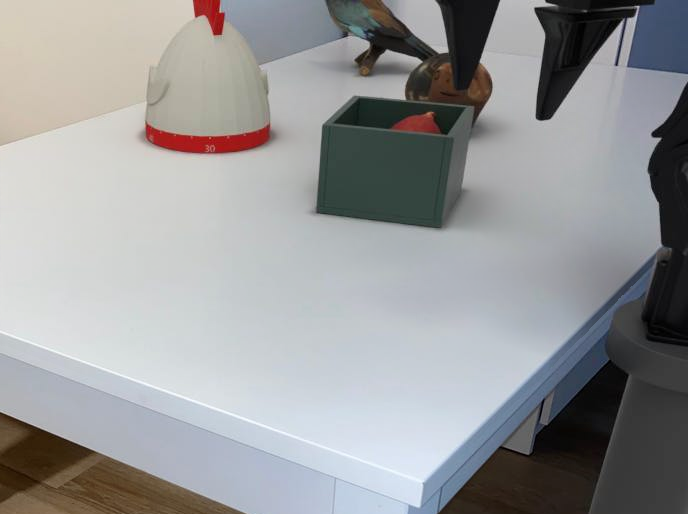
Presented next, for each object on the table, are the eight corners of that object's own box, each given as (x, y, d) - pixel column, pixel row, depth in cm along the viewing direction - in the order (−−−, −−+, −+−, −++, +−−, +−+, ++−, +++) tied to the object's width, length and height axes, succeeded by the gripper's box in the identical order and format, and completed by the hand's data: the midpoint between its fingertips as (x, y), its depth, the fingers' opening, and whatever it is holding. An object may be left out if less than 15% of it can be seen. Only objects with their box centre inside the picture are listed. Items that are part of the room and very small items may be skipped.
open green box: (461, 190, 96) (474, 106, 91) (440, 228, 88) (454, 137, 83) (346, 177, 99) (353, 95, 95) (315, 212, 91) (322, 124, 86)
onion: (365, 161, 89) (400, 84, 90) (366, 195, 95) (398, 122, 96) (427, 180, 88) (461, 101, 89) (424, 213, 94) (456, 138, 94)
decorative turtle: (405, 144, 108) (411, 63, 104) (398, 119, 121) (402, 45, 116) (496, 143, 107) (506, 60, 103) (480, 117, 120) (487, 43, 115)
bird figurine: (460, 60, 139) (400, -87, 130) (453, 77, 132) (389, -78, 123) (373, 107, 146) (311, -30, 137) (362, 125, 138) (296, -18, 130)
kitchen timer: (245, 115, 118) (249, -31, 109) (288, 146, 108) (297, -12, 98) (131, 124, 114) (126, -26, 105) (165, 157, 104) (162, -6, 95)
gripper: (354, -174, 65) (334, 86, 74) (542, -164, 51) (488, 152, 61) (493, -175, 68) (457, 73, 78) (703, -166, 55) (628, 132, 64)
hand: (500, 104), depth 70 cm, fingers open, 9 cm apart
